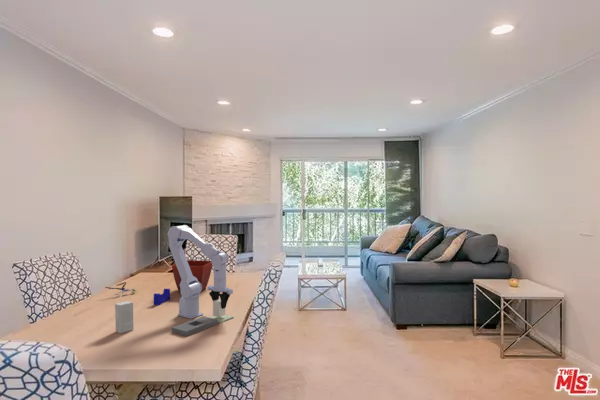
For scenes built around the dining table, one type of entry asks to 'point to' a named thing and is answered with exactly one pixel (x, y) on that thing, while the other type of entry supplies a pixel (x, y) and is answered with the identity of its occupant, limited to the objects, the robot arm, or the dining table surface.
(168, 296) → the cable clip
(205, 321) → the gray square hole board
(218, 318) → the mat
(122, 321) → the skincare box
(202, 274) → the plant pot
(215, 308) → the plug
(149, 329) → the dining table surface
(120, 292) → the figurine
